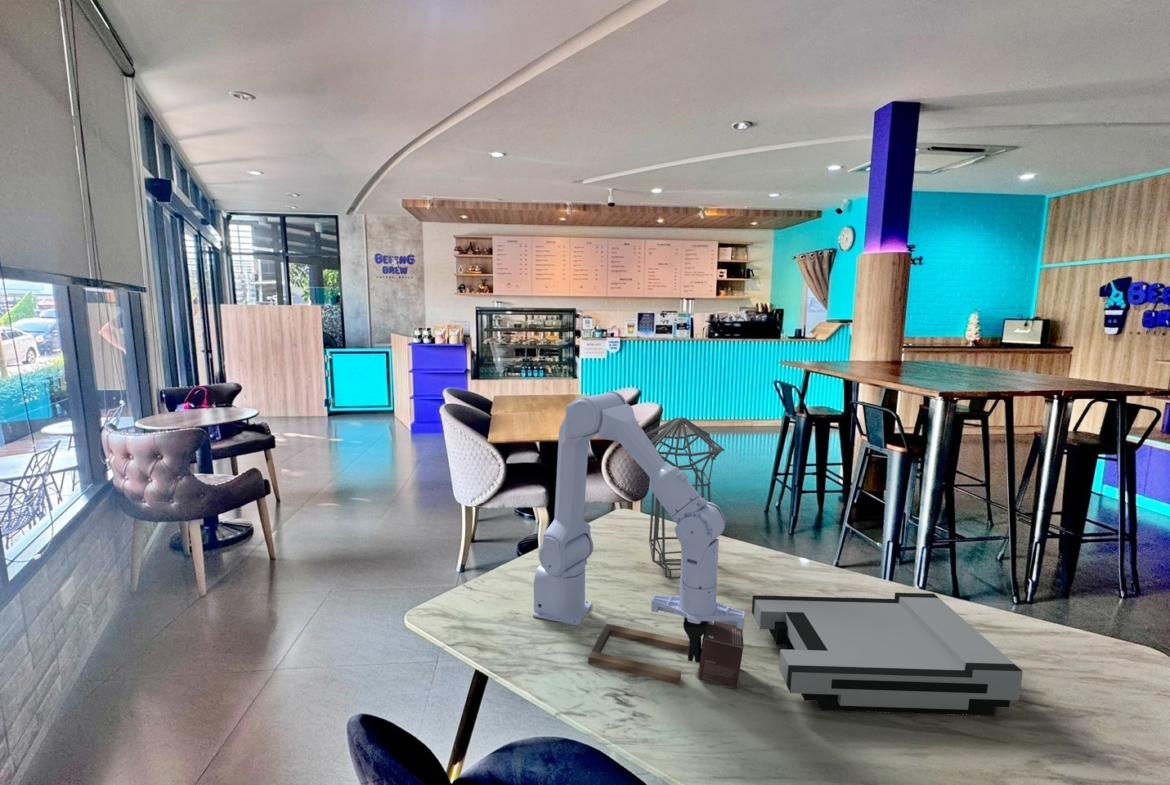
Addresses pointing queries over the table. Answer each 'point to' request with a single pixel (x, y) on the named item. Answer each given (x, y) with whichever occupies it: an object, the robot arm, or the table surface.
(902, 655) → the game console
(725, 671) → the box
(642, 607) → the table surface
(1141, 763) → the table surface
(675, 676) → the wooden u-shaped frame
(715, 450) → the geometric lantern
